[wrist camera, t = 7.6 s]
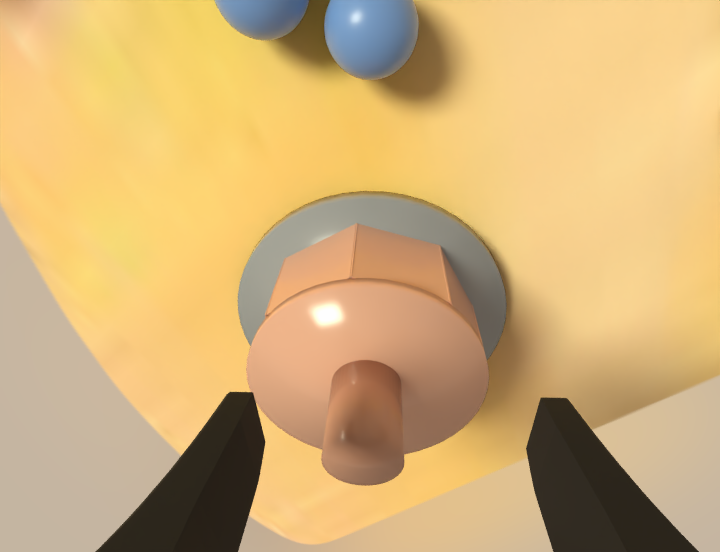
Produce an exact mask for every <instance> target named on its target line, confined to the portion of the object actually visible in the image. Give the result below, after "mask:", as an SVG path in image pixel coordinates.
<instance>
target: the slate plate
mask: <svg viewBox="0 0 720 552" xmlns="http://www.w3.org/2000/svg"><path fill="white" fill-rule="evenodd" d="M356 223H358V224H361V225H365V226H369V227H373V228H376V229H380V230H384V231H388V232H391V233H395V234H399V235H403V236H406V237H410V238H414V239H418V240H422V241H425V242H429V243H433V244H437V245H440V246H441V249H442V250H443V252H444V254H445V256H446V258H447V260H448V261H449V263H450V265H451V267H452V269H453V271H454V273H455V274H456V276H457V278H458V280H459V282H460V284H461V285H462V287H463V289H464V291H465V293H466V295H467V297H468V298H469V300H470V302H471V304H472V305H473V308H474V312H475V316H476V320H477V324H478V328H479V332H480V336H481V340H482V344H483V347H484V351H485V355H486V359H487V360H488V358H489V357H490V356H491V354H492V352H493V351H494V349H495V347H496V346H497V344H498V342H499V339H500V337H501V334H502V332H503V328H504V323H505V319H506V295H505V289H504V285H503V282H502V279H501V275H500V273H499V270H498V267H497V265H496V263H495V261H494V259H493V257H492V255H491V253H490V251H489V250H488V248H487V247H486V245H485V244H484V243H483V241H482V240H481V239H480V238H479V236H478V235H477V234H476V233H475V232H474V231H473V230H472V229H471V228H470V227H469V226H467V225H466V224H465V223H464V222H462V221H461V220H460V219H458V218H457V217H456V216H454V215H453V214H451V213H449V212H447V211H446V210H444V209H442V208H440V207H438V206H436V205H434V204H431V203H429V202H426V201H424V200H421V199H418V198H414V197H410V196H407V195H403V194H396V193H389V192H377V191H360V192H350V193H342V194H338V195H333V196H329V197H325V198H322V199H319V200H316V201H314V202H311V203H308V204H306V205H304V206H302V207H300V208H298V209H296V210H294V211H293V212H291V213H289V214H288V215H286V216H285V217H284V218H282V219H281V220H280V221H278V222H277V223H276V224H275V225H274V226H273V227H272V228H271V229H270V230H269V231H268V232H267V233H265V235H264V236H263V237H262V239H261V240H260V241H259V243H258V244H257V245H256V247H255V249H254V250H253V252H252V254H251V256H250V258H249V260H248V262H247V264H246V266H245V269H244V271H243V275H242V278H241V281H240V285H239V292H238V312H239V317H240V322H241V326H242V328H243V331H244V334H245V337H246V338H247V340H248V342H249V344H250V346H251V344H252V342H253V339H254V336H255V334H256V332H257V330H258V328H259V326H260V325H261V323H262V322H263V321H264V319H265V313H266V310H267V307H268V304H269V301H270V298H271V295H272V293H273V290H274V287H275V284H276V281H277V278H278V275H279V272H280V270H281V267H282V264H283V261H284V259H285V258H287V257H289V256H291V255H293V254H295V253H297V252H299V251H301V250H303V249H305V248H307V247H309V246H311V245H313V244H315V243H317V242H319V241H321V240H323V239H326V238H328V237H330V236H332V235H334V234H336V233H338V232H340V231H342V230H344V229H346V228H348V227H350V226H352V225H354V224H356Z"/></svg>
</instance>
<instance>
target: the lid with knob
mask: <svg viewBox="0 0 720 552" xmlns="http://www.w3.org/2000/svg"><path fill="white" fill-rule="evenodd" d="M246 371H247V380H248V384H249V387H250V391H251V392H253V394H254V398H255V401H256V403H257V404H258V406H259V407H260V409H261V410H262V411H263V413H264V414H265V415H266V416H267V417H268V418H269V419H270V420H271V421H272V422H273V423H274V424H275V425H277V426H278V427H279V428H280V429H282V430H283V431H285V432H286V433H288V434H289V435H291V436H293V437H294V438H296V439H298V440H300V441H302V442H304V443H306V444H309V445H311V446H313V447H316V448H319V449H322V459H321V460H322V464H323V467H324V468H325V470H326V471H327V472H328V473H329V474H330V475H331V476H333V477H334V478H336V479H338V480H340V481H343V482H346V483H350V484H355V485H377V484H381V483H385V482H388V481H390V480H392V479H394V478H395V477H396V476H398V475H399V474H400V473H401V471H402V469H403V467H404V454H408V453H412V452H416V451H420V450H423V449H425V448H428V447H431V446H433V445H436V444H438V443H440V442H442V441H444V440H446V439H447V438H449V437H451V436H453V435H454V434H455V433H457V432H458V431H459V430H461V429H462V428H463V427H464V426H465V425H466V424H467V423H468V422H469V421H471V420H472V418H473V417H474V416H475V414H476V413H477V412H478V410H479V409H480V407H481V405H482V403H483V401H484V399H485V396H486V393H487V390H488V383H489V368H488V363H487V359H486V355H485V351H484V347H483V344H482V340H481V336H480V332H479V328H478V324H477V320H476V316H475V312H474V308H473V305H472V304H471V302H470V300H469V298H468V297H467V295H466V293H465V291H464V289H463V287H462V285H461V284H460V282H459V280H458V278H457V276H456V274H455V273H454V271H453V269H452V267H451V265H450V263H449V261H448V260H447V258H446V256H445V254H444V252H443V250H442V249H441V246H440V245H437V244H433V243H429V242H425V241H422V240H418V239H414V238H410V237H406V236H403V235H399V234H395V233H391V232H388V231H384V230H380V229H376V228H373V227H369V226H365V225H361V224H358V223H356V224H354V225H352V226H350V227H348V228H346V229H344V230H342V231H340V232H338V233H336V234H334V235H332V236H330V237H328V238H326V239H323V240H321V241H319V242H317V243H315V244H313V245H311V246H309V247H307V248H305V249H303V250H301V251H299V252H297V253H295V254H293V255H291V256H289V257H287V258H285V259H284V261H283V264H282V267H281V270H280V272H279V275H278V278H277V281H276V284H275V287H274V290H273V293H272V295H271V298H270V301H269V304H268V307H267V310H266V313H265V319H264V321H263V322H262V323H261V325H260V326H259V328H258V330H257V332H256V334H255V336H254V339H253V342H252V344H251V347H250V351H249V354H248V358H247V368H246Z"/></svg>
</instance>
